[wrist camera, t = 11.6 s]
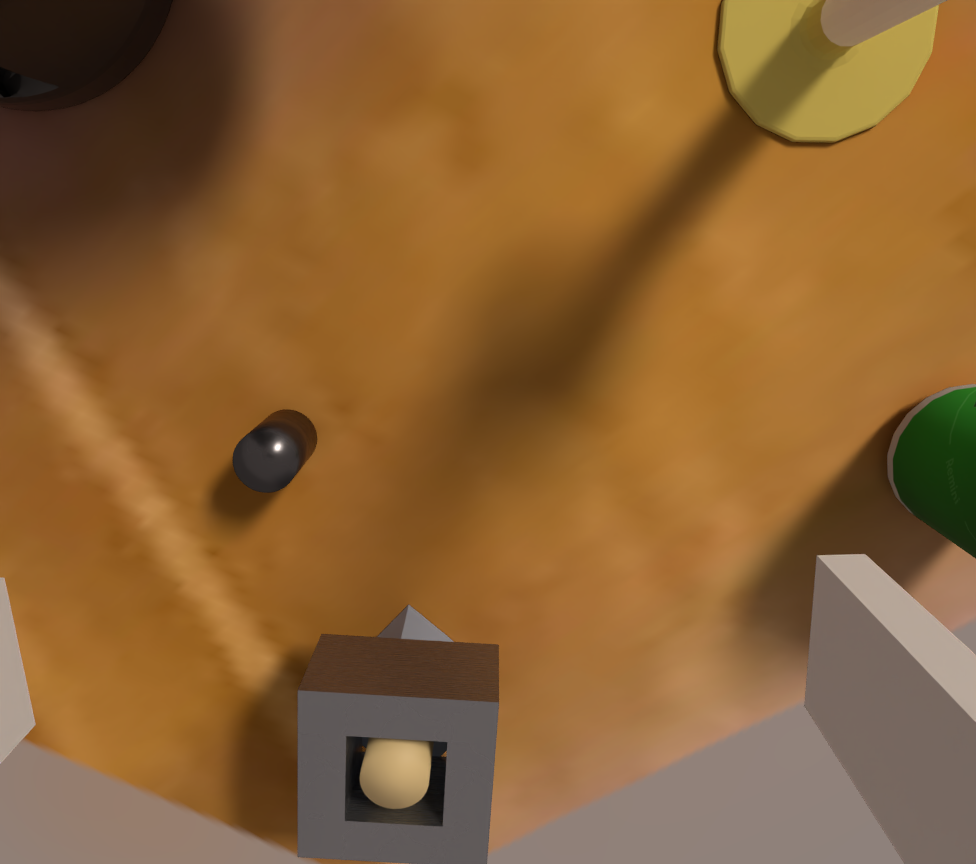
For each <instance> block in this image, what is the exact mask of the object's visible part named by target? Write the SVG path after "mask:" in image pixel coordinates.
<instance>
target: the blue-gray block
mask: <svg viewBox="0 0 976 864" xmlns="http://www.w3.org/2000/svg"><path fill="white" fill-rule="evenodd" d="M377 637H381V638H397V639H414V640H430V641H447V642H454V641H453V640H451V639H450V638H449V637H448V636H446V635H445V634H444V633H443V632H442V631H440V630H439V629H438V628H437V627H436V626H434V625H433V624H432V623H431V622H429V621H428V620H427V619H426V618H425V617H423V616H422V615H421V614H420V613H418V612H417V611H416V610H415V609H414V608H412V607H411V606H410V605H408V606H407V607H406V608H405V609H404V610H403V611H402V612H401V613H400V614H399V615H398V616H397V617H396V618H395V619H394V620H393V621H392V622H391V623H390V624H389V625H388V626H387V627H386V628H385V629H384V630H383V631H382V632H381V633H380V634H379V635H378V636H377ZM362 746H364V747H365V748H366V751H365V756H364V760H363V764H362V768H361V772H360V785H361V788H362V790H363V792H364V793H365V795H366V796H367V797H368V798H369V799H370V800H371V801H372V802H374V803H375V804H377V805H379V806H382V807H385V808H390V809H402V808H406V807H409V806H412V805H414V804H415V803H417V802H418V801H419V800H421V799H422V797H423V796H424V795H425V793H426V791H427V789H428V785H429V778H430V770H431V761H432V756H441V755H442V754H443V753H444V752H445V751H447V742H439V741H422V740H405V739H389V738H372V737H362Z"/></svg>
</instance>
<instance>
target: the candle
mask: <svg viewBox="0 0 976 864" xmlns="http://www.w3.org/2000/svg"><path fill="white" fill-rule="evenodd" d="M945 1H947V0H723V1H722V3H721V12H720V24H719V35H718V47H717V51H718V55H719V58H720V62H721V65H722V68H723V72H724V75H725V79H726V82H727V86H728V89H729V92H730V94H731V95H732V96H733V97H734V99H735V100H736V101H737V102H738V103H739V105H740V106H741V107H742V108H743V109H744V111H745V112H746V113H747V114H748V115H749V117H750V118H751V119H752V120H753V122H754V123H755V124H756V125H758V126H760V127H762V128H764V129H766V130H769V131H771V132H773V133H775V134H777V135H779V136H781V137H783V138H785V139H787V140H789V141H791V142H828V143H834V142H837V141H839V140H842V139H844V138H847V137H849V136H852V135H854V134H857V133H859V132H862V131H864V130H867V129H869V128H872V127H874V126H876V125H877V124H878V123H879V122H880V121H881V120H882V119H884V118H885V117H886V116H887V115H888V114H889V113H890V112H891V111H892V110H893V109H895V108H896V107H897V106H898V105H899V104H900V103H901V102H902V101H903V100H904V99H905V98H907V97H908V96H909V94H910V93H911V91H912V89H913V87H914V85H915V83H916V81H917V79H918V78H919V76H920V74H921V72H922V70H923V68H924V66H925V64H926V63H927V61H928V59H929V57H930V55H931V53H932V48H933V41H934V34H935V28H936V21H937V14H938V8H939V4H941V3H943V2H945Z"/></svg>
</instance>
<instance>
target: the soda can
mask: <svg viewBox="0 0 976 864" xmlns="http://www.w3.org/2000/svg"><path fill="white" fill-rule="evenodd" d="M887 471H888V479H889V481H890V484H891V486H892V489H893V492H894V494H895V496H896V498H897V499H898V500H899V501H900V502H901V503H902V504H903V505H904V506H905V507H906V509H907V510H908V511H909V512H910V513H912V514H913V515H915V516H916V517H917V518H919V519H920V520H922V521H923V522H925V523H926V524H927V525H929V526H930V527H932V528H933V529H935V530H936V531H937V532H939V533H940V534H942V535H943V536H945V537H946V538H947V539H949V540H950V541H952V542H953V543H955V544H956V545H957V546H959V547H960V548H962V549H963V550H965V551H966V552H967V553H969V554H970V555H972V556H973V557H975V558H976V384H970V385H963V386H956V387H949V388H946V389H944V390H942V391H940V392H938V393H935V394H933V395H931V396H929V397H927V398H925V399H924V400H923V401H922V402H920V403H919V404H918V405H917V406H916V407H914V408H913V409H912V410H911V411H910V412H909V413H907V415H906V416H905V418H904V419H903V421H902V422H901V424H900V425H899V426H898V428H897V429H896V431H895V432H894V434H893V438H892V441H891V444H890V447H889V451H888V454H887Z"/></svg>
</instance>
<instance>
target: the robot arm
mask: <svg viewBox="0 0 976 864" xmlns="http://www.w3.org/2000/svg"><path fill="white" fill-rule="evenodd" d="M171 3H172V0H0V107H4V108H9V109H16V110H25V111H43V110H54V109H61V108H65V107H70V106H73V105H77V104H80V103H83V102H85V101H88V100H90V99H93V98H95V97H97V96H99V95H101V94H103V93H104V92H106V91H107V90H109V89H111V88H112V87H114V86H115V85H116V84H118V83H119V82H120V81H122V80H123V79H124V78H125V77H126V76H127V75H128V74H130V73H131V72H132V71H133V70H134V68H135V67H136V66H137V65H138V64H139V63H140V62H141V61H142V59H143V58H144V57H145V56H146V54H147V53H148V51H149V50H150V48H151V47H152V45H153V44H154V42H155V40H156V39H157V37H158V35H159V33H160V31H161V29H162V27H163V25H164V23H165V20H166V17H167V15H168V12H169V9H170V6H171ZM804 706H805V708H806V709H807V711H808V712H809V714H810V716H811V717H812V719H813V720H814V721H815V723H816V725H817V726H818V728H819V730H820V731H821V733H822V734H823V736H824V738H825V739H826V741H827V742H828V744H829V745H830V747H831V749H832V750H833V752H834V753H835V755H836V757H837V758H838V759H839V761H840V763H841V764H842V766H843V768H844V769H845V770H846V772H847V774H848V775H849V777H850V779H851V780H852V782H853V783H854V785H855V786H856V788H857V790H858V791H859V793H860V794H861V796H862V798H863V799H864V801H865V802H866V804H867V805H868V807H869V809H870V810H871V812H872V813H873V815H874V816H875V818H876V820H877V821H878V823H879V824H880V826H881V827H882V829H883V831H884V832H885V834H886V835H887V837H888V838H889V840H890V842H891V843H892V845H893V846H894V848H895V850H896V851H897V853H898V854H899V856H900V857H901V859H902V860H903V862H904V864H976V655H975V654H974V653H973V652H972V651H971V650H970V649H969V648H968V647H967V646H966V645H964V644H963V643H962V642H961V641H960V640H959V639H958V638H957V637H956V636H955V635H953V634H952V633H951V632H950V631H949V630H948V629H947V628H946V627H945V626H944V625H942V624H941V623H940V622H939V621H938V620H937V619H936V618H935V617H934V616H933V615H931V614H930V613H929V612H928V611H927V610H926V609H925V608H924V607H923V606H922V605H921V604H919V603H918V602H917V601H916V600H915V599H914V598H913V597H912V596H911V595H910V594H908V593H907V592H906V591H905V590H904V589H903V588H902V587H901V586H900V585H899V584H897V583H896V582H895V581H894V580H893V579H892V578H891V577H890V576H889V575H888V574H886V573H885V572H884V571H883V570H882V569H881V568H880V567H879V566H878V565H877V564H875V563H874V562H873V561H872V560H871V559H870V558H869V557H868V556H867V555H866V554H847V555H817V559H816V571H815V583H814V595H813V607H812V619H811V631H810V643H809V655H808V667H807V679H806V692H805V704H804ZM35 725H36V724H35V720H34V715H33V710H32V706H31V701H30V696H29V692H28V687H27V682H26V677H25V673H24V668H23V663H22V659H21V654H20V649H19V644H18V640H17V635H16V630H15V626H14V621H13V616H12V612H11V607H10V602H9V597H8V593H7V588H6V583H5V579H4V578H0V764H1V763H2V761H3V760H4V759H5V758H6V757H7V756H8V755H9V754H10V753H11V751H12V750H13V749H14V748H15V747H16V746H17V745H18V744H19V743H20V741H21V740H22V739H23V738H24V737H25V736H26V735H27V734H28V733H29V731H30V730H31V729H32V728H33V727H34V726H35Z"/></svg>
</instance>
